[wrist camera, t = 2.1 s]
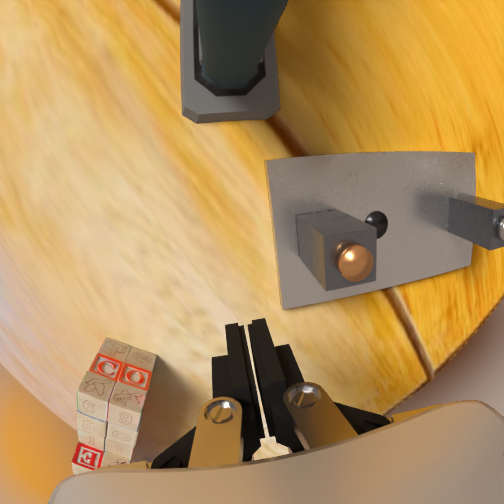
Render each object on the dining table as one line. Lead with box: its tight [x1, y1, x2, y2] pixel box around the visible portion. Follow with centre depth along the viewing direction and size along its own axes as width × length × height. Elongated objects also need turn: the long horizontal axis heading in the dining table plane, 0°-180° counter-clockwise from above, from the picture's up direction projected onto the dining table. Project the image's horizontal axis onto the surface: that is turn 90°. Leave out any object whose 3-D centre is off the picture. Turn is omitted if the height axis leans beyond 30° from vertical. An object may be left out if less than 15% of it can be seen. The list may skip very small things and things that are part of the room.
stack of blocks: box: [72, 338, 157, 474], centre depth 26 cm, size 21×6×12 cm, turn 158°
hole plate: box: [264, 151, 476, 310], centre depth 28 cm, size 25×14×1 cm, turn 97°
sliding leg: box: [297, 210, 377, 291], centre depth 23 cm, size 4×4×8 cm
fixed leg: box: [448, 195, 504, 250], centre depth 24 cm, size 4×4×8 cm
